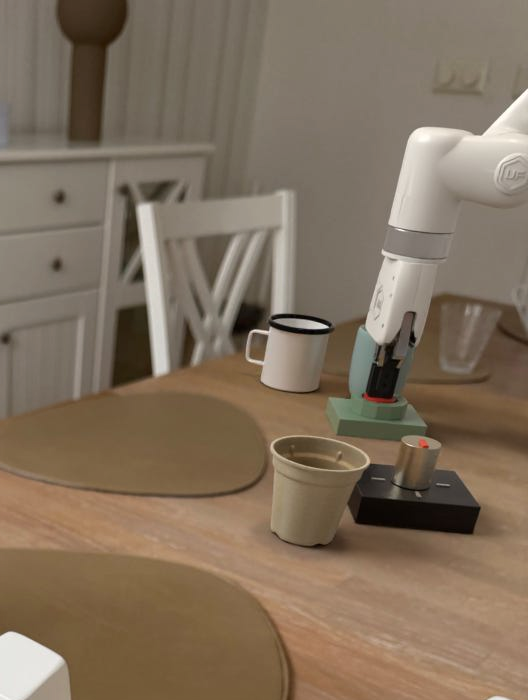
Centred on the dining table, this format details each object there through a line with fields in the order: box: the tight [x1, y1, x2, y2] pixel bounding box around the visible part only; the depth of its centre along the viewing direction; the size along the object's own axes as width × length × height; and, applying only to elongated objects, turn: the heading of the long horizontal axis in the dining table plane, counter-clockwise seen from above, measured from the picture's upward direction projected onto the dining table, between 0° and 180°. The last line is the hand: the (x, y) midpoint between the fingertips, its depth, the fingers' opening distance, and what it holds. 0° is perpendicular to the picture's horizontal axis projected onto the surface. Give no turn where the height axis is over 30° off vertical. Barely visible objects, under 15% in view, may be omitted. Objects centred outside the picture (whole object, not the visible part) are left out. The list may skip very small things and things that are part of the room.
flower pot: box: [269, 434, 371, 547], centre depth 96 cm, size 9×9×9 cm
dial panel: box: [347, 462, 482, 535], centre depth 104 cm, size 12×10×3 cm
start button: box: [363, 393, 396, 404], centre depth 126 cm, size 4×4×2 cm
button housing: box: [324, 390, 428, 442], centre depth 127 cm, size 11×9×4 cm
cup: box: [348, 323, 418, 396], centre depth 135 cm, size 8×8×10 cm
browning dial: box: [391, 435, 442, 490], centre depth 102 cm, size 4×4×5 cm
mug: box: [245, 312, 336, 394], centre depth 140 cm, size 12×10×9 cm
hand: (378, 395), depth 126 cm, fingers closed
